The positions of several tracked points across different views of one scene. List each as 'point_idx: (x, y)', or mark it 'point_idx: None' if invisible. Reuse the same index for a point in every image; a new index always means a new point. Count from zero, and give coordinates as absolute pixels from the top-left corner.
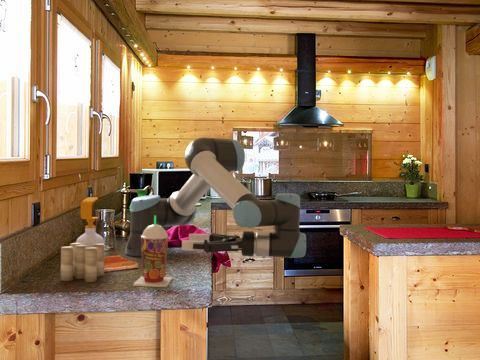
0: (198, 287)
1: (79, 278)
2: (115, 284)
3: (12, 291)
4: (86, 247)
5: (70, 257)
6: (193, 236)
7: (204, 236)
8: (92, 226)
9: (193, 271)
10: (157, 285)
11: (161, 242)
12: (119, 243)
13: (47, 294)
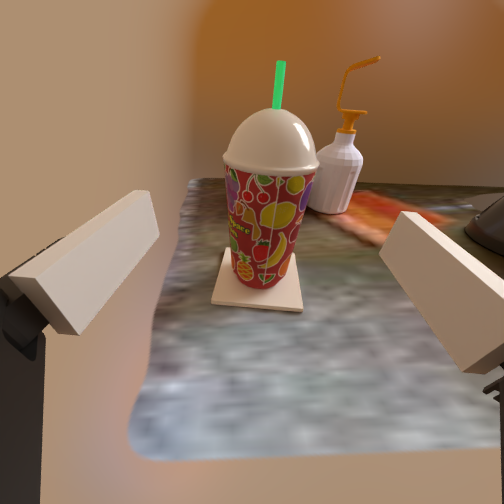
0: (195, 406)
1: None
2: None
3: (206, 180)
4: None
5: None
6: (410, 239)
7: (470, 294)
8: (344, 129)
9: (443, 371)
10: (216, 283)
11: (233, 181)
12: None
13: (188, 194)
